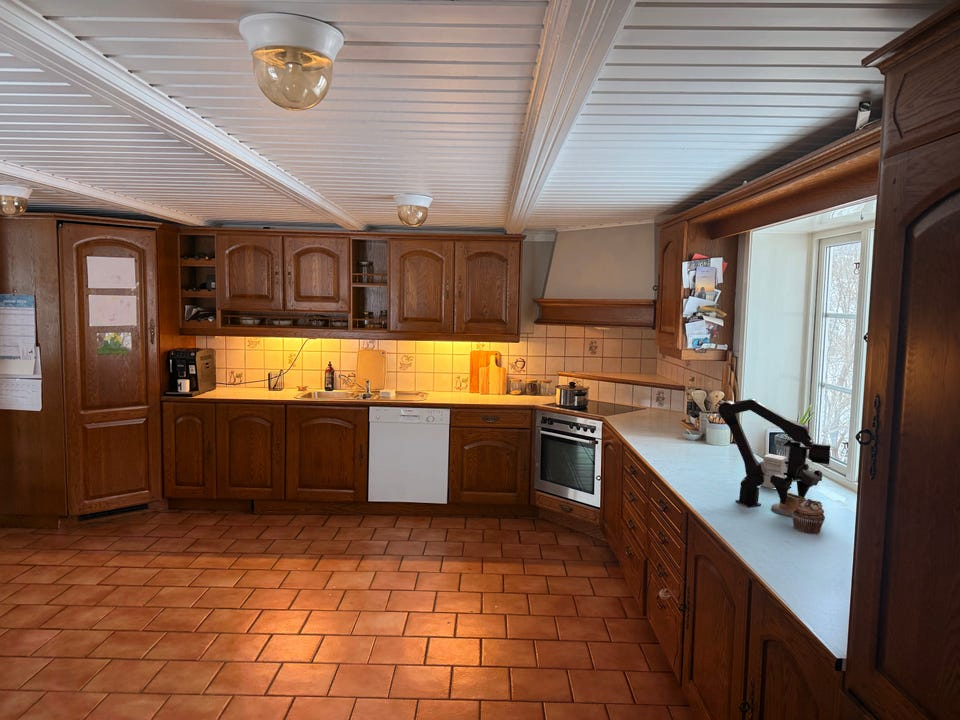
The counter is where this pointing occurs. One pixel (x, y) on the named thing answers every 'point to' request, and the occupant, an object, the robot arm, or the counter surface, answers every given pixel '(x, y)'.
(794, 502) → the walnut sleeve
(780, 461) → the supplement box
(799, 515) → the cupcake
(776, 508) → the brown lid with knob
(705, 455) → the counter surface
